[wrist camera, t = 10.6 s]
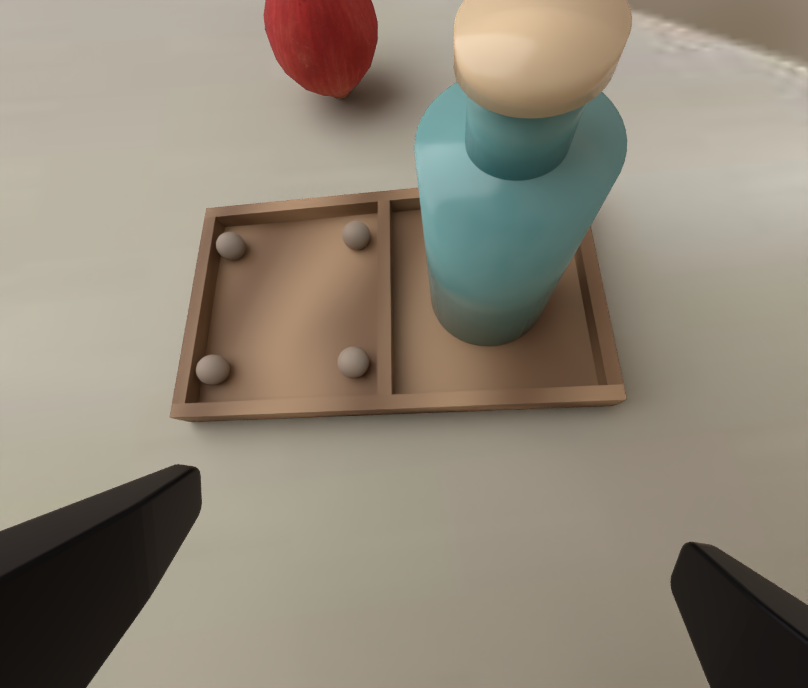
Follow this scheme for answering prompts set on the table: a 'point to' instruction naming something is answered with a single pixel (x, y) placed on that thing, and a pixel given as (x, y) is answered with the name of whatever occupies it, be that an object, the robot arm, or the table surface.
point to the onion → (323, 42)
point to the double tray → (367, 322)
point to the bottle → (517, 158)
